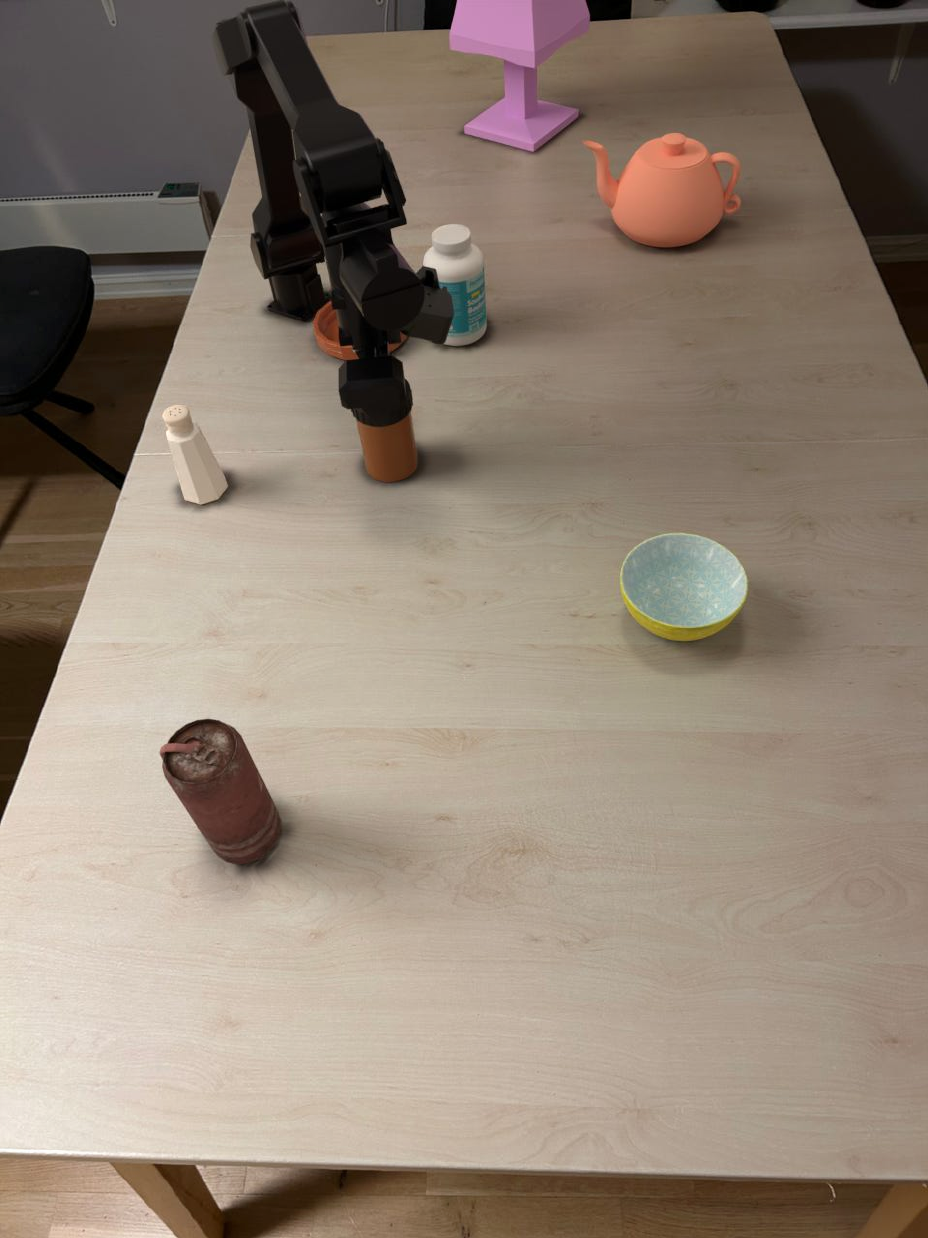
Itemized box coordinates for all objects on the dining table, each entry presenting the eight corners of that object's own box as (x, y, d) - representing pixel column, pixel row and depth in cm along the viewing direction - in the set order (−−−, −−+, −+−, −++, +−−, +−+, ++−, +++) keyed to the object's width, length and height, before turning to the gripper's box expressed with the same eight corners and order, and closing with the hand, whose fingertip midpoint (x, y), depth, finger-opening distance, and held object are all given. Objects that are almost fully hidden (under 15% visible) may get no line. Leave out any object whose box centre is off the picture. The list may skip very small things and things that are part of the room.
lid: (414, 423, 98) (412, 407, 96) (351, 430, 98) (348, 414, 96) (411, 383, 102) (409, 368, 100) (351, 390, 102) (348, 374, 100)
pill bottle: (481, 350, 118) (475, 252, 108) (424, 347, 120) (413, 249, 109) (492, 316, 123) (487, 218, 112) (437, 312, 124) (427, 215, 113)
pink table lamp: (509, 96, 162) (502, -159, 135) (586, 115, 156) (595, -149, 128) (456, 134, 155) (437, -128, 127) (535, 155, 149) (533, -116, 121)
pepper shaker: (210, 465, 108) (182, 388, 100) (238, 487, 106) (211, 410, 97) (171, 489, 106) (139, 413, 97) (198, 512, 104) (167, 436, 95)
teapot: (578, 255, 130) (580, 166, 120) (582, 197, 140) (585, 111, 130) (740, 255, 127) (756, 165, 118) (733, 197, 137) (748, 108, 127)
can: (211, 804, 81) (159, 718, 70) (283, 796, 81) (243, 710, 70) (205, 870, 77) (149, 791, 66) (281, 862, 77) (238, 781, 66)
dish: (298, 348, 121) (294, 331, 119) (352, 299, 127) (349, 282, 125) (376, 373, 117) (373, 357, 115) (427, 321, 123) (425, 304, 121)
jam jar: (355, 472, 106) (340, 403, 98) (384, 440, 109) (372, 371, 101) (399, 488, 104) (388, 419, 96) (428, 455, 107) (419, 386, 99)
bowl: (708, 686, 85) (718, 646, 80) (595, 637, 89) (598, 596, 84) (755, 601, 91) (767, 559, 86) (646, 559, 95) (652, 516, 90)
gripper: (452, 322, 82) (464, 455, 94) (438, 212, 93) (450, 344, 106) (326, 335, 82) (354, 467, 94) (327, 224, 93) (352, 355, 106)
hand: (381, 405), depth 100 cm, fingers closed on lid, 6 cm apart
